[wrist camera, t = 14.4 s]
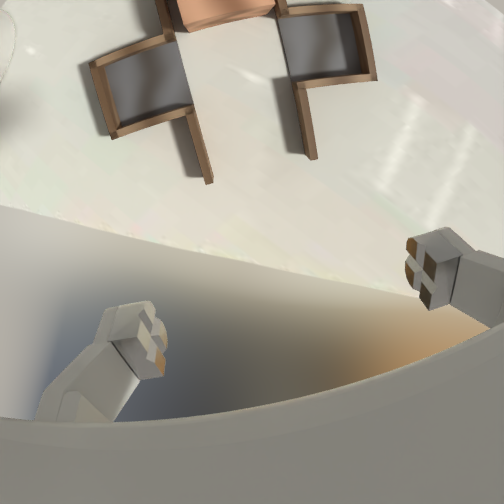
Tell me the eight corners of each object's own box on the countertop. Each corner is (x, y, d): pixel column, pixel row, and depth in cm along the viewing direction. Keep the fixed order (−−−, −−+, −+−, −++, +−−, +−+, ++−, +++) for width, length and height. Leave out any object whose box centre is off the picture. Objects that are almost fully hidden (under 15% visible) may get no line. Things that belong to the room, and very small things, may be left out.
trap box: (140, 196, 43) (135, 205, 41) (79, -11, 26) (70, -15, 23) (375, 142, 42) (384, 147, 40) (332, -65, 25) (339, -72, 22)
